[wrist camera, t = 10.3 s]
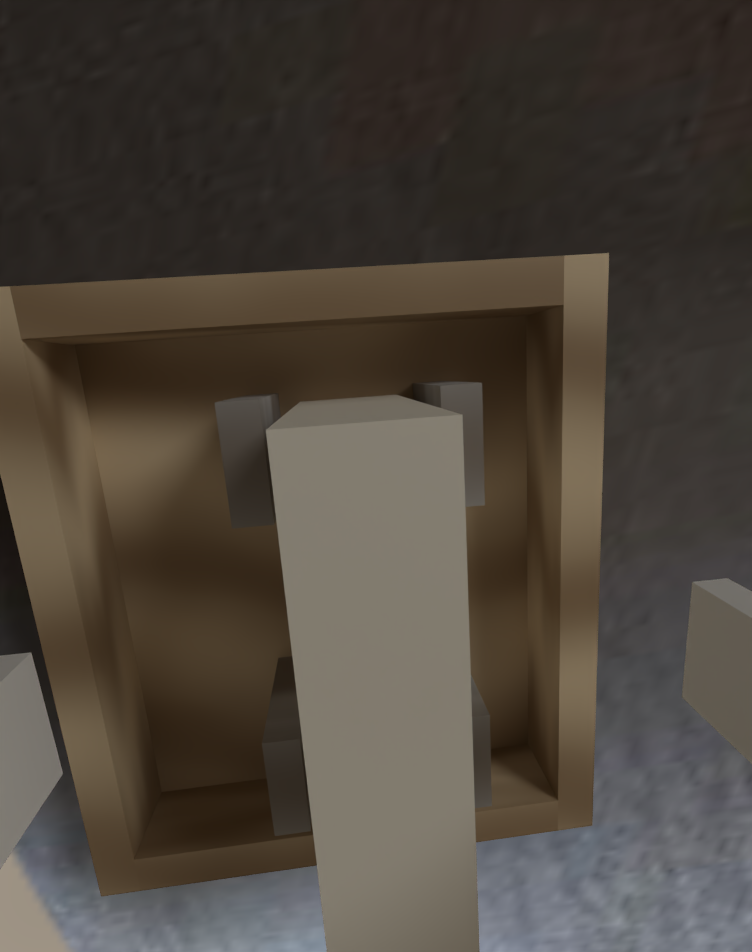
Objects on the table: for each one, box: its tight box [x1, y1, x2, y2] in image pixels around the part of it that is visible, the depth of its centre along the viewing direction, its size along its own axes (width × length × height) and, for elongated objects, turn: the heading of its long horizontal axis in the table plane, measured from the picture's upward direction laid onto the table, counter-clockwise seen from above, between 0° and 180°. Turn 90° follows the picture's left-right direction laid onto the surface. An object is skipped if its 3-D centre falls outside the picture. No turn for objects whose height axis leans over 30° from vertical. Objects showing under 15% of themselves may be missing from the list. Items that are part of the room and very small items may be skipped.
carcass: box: [0, 253, 609, 896], centre depth 15 cm, size 18×16×5 cm
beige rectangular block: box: [266, 395, 479, 952], centre depth 12 cm, size 12×3×8 cm, turn 4°
